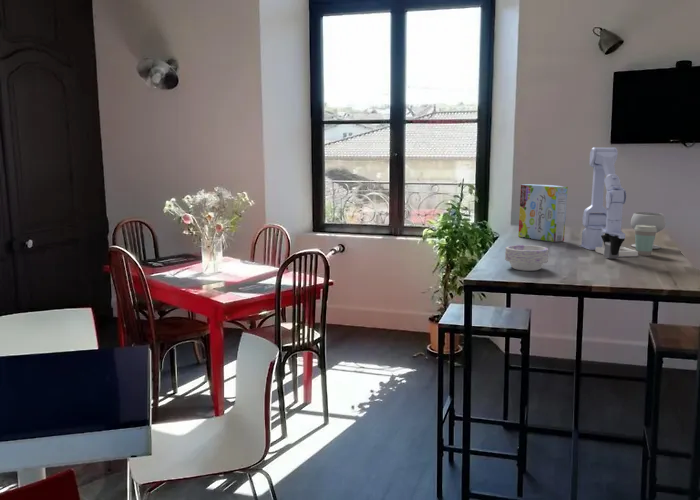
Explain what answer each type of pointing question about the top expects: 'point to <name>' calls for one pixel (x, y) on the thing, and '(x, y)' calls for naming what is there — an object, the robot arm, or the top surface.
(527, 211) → the snack box
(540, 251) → the white round bowl
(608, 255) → the plug
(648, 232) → the coffee cup
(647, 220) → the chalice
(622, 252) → the socket plate
